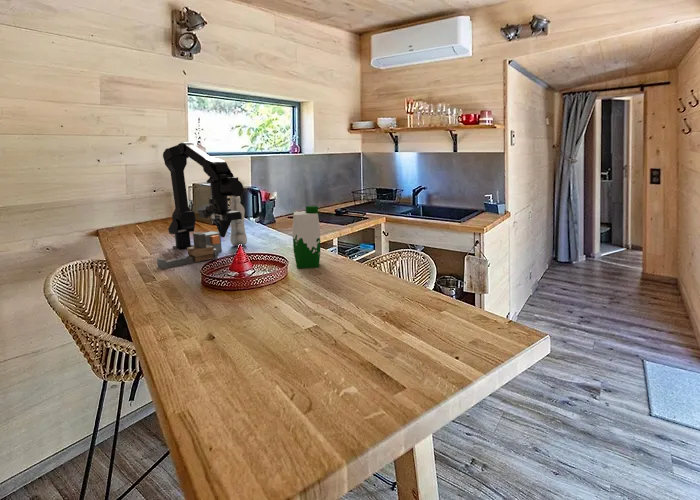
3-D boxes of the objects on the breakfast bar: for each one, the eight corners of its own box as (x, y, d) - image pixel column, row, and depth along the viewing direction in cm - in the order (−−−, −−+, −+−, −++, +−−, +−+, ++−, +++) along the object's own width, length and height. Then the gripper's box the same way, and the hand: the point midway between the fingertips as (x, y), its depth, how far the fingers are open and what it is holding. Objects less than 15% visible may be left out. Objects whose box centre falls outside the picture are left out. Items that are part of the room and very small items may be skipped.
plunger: (203, 242, 183) (202, 234, 182) (209, 241, 185) (209, 233, 185) (212, 244, 178) (212, 236, 178) (219, 243, 180) (219, 235, 180)
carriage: (188, 259, 169) (185, 234, 167) (205, 256, 174) (203, 231, 172) (196, 262, 165) (194, 235, 163) (214, 258, 170) (212, 233, 168)
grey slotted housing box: (197, 251, 183) (196, 234, 182) (213, 248, 188) (212, 231, 187) (205, 253, 179) (204, 235, 178) (221, 250, 184) (220, 233, 183)
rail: (157, 267, 159) (156, 258, 159) (211, 256, 174) (211, 248, 174) (163, 269, 157) (162, 260, 156) (217, 257, 172) (217, 249, 171)
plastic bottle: (243, 247, 189) (240, 198, 184) (228, 247, 190) (224, 198, 186) (250, 244, 195) (246, 196, 190) (234, 244, 196) (231, 196, 192)
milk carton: (321, 268, 154) (319, 207, 149) (293, 269, 153) (290, 208, 149) (320, 261, 162) (318, 204, 158) (294, 263, 162) (291, 205, 157)
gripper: (186, 196, 173) (190, 237, 176) (213, 199, 160) (217, 243, 164) (213, 193, 181) (216, 233, 184) (241, 196, 168) (244, 238, 172)
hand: (222, 237), depth 176 cm, fingers closed
